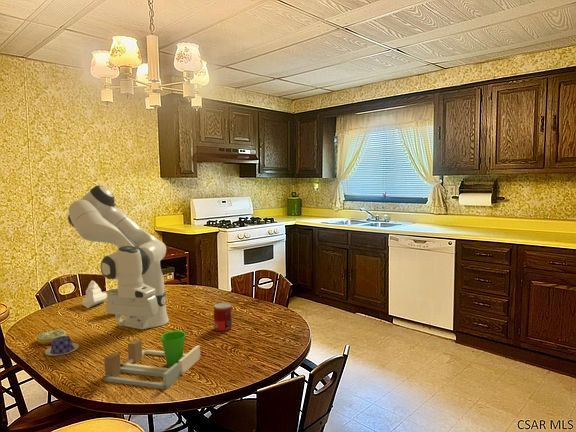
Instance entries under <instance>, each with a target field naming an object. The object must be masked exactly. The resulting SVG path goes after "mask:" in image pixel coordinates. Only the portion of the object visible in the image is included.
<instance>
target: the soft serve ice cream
mask: <svg viewBox="0 0 576 432" xmlns="http://www.w3.org/2000/svg"><path fill="white" fill-rule="evenodd" d="M106 300H107V293H106V292H102V289H101V288H100V286H99V285H98V283H96V281H94V280H93V279H92V280H91V281H90V282H89V283H88V286H87V288H86V290H85V298H84V299H83V300H82V301H81V304H82V306H84V307H85V308H87V309H90V308H92V307H94V306H96V305H99V304H101V303H103V302H105V301H106Z"/></svg>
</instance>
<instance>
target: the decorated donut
mask: <svg viewBox="0 0 576 432" xmlns="http://www.w3.org/2000/svg"><path fill="white" fill-rule="evenodd" d="M60 336H67V332H66V331H65V330H64V329H53V330H48V331H44V332H42V333H40V334H38V335H37V336H36V341H37V342H38V343H39V344H40V345H42V346H43V345H44V346H47V345H48V344H49V345H52V342H53V340H54V339H55V338H57V337H60Z"/></svg>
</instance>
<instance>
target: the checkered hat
mask: <svg viewBox="0 0 576 432" xmlns="http://www.w3.org/2000/svg"><path fill="white" fill-rule="evenodd" d="M73 346H74V347H75V349H74V347H73ZM79 347H80V345H79V344H78V343H74V342H72V340H71V338H70V336H68V335H66V336H60V337H57V338H55V339H54V340H53V342H52V344H51V346H50V347H48V348H46V349H45V351H44V355H47V356H56V355H58V356H63V355H66V354H70V353H72V352H75V351H76V350H78V349H79Z"/></svg>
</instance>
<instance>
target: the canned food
mask: <svg viewBox="0 0 576 432" xmlns="http://www.w3.org/2000/svg"><path fill="white" fill-rule="evenodd" d="M232 309H233V308H232V304H231V303H229V302H218V303H216V304H214V305H213V320H214V321H213V323H214V324H213V325H214V326H213V327H214V330H215V331H217V332H229V331H231V330H232V327H233V320H232V319H233V315H232V313H233V312H232V311H233V310H232Z"/></svg>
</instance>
